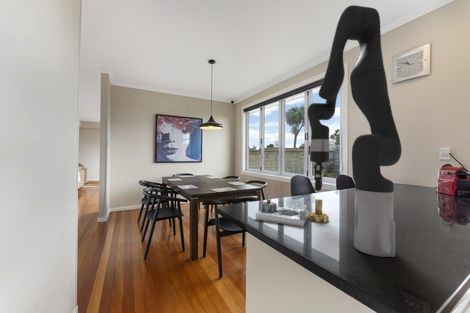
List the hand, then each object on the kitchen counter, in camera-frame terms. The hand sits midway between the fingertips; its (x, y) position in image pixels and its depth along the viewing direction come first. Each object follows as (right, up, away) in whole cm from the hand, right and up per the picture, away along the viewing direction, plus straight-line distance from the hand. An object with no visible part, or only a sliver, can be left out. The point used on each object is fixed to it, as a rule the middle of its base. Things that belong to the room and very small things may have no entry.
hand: (318, 189), depth 88 cm
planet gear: (0, -13, 0) cm, 13 cm away
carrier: (-15, -13, +2) cm, 19 cm away
